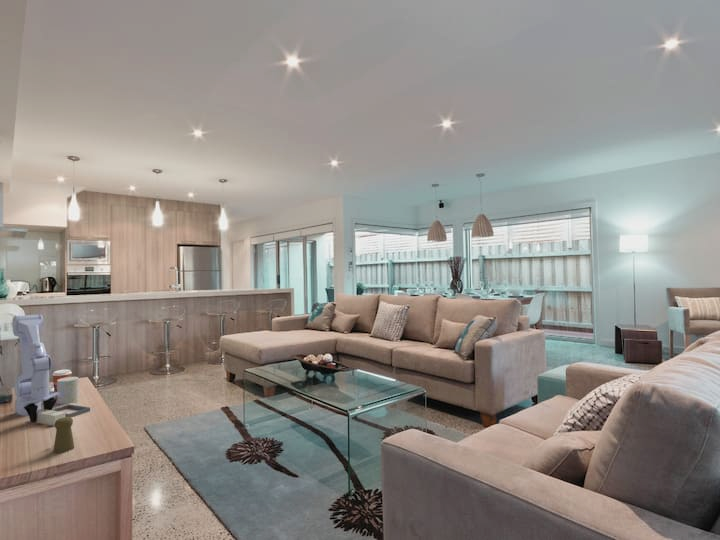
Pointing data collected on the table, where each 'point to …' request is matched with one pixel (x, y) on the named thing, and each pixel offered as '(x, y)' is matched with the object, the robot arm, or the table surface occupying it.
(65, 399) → the cup
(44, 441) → the table surface
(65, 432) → the cork
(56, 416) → the off-white block
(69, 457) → the table surface
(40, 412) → the cream matte cube
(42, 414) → the off-white stacked cube
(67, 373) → the paper cup
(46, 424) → the brown flat slab
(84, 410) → the bin
